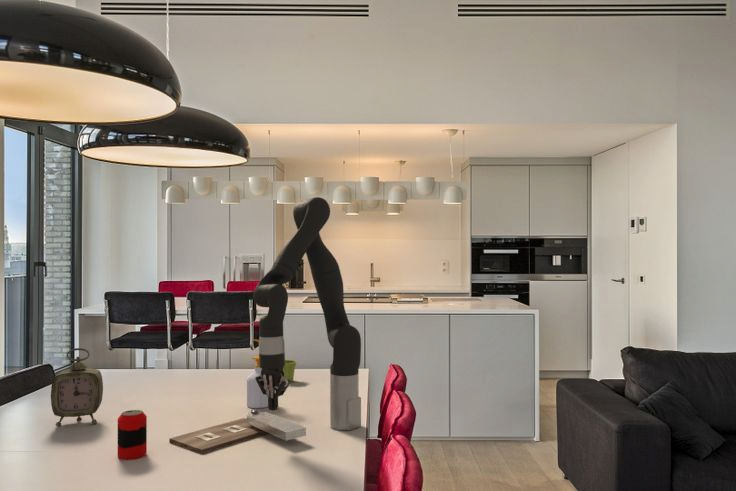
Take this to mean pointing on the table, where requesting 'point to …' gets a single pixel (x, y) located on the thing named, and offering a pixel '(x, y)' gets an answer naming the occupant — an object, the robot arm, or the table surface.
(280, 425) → the swing arm
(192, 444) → the label panel
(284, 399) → the table surface
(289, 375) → the plant pot
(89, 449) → the table surface
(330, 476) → the table surface
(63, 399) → the tabletop clock
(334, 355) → the robot arm
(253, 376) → the soap bottle
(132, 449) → the soda can
